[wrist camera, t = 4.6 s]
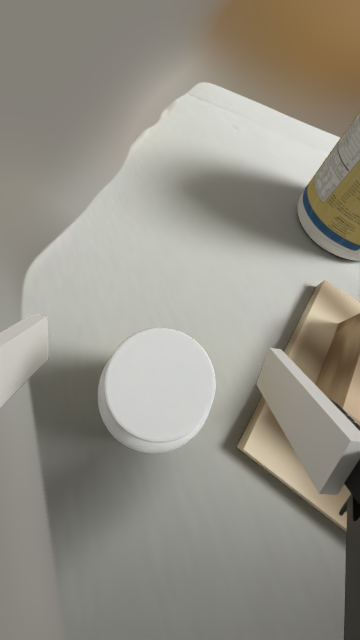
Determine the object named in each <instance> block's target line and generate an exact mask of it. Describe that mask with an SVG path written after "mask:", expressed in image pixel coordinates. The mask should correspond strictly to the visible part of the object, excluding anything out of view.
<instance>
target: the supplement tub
mask: <svg viewBox="0 0 360 640" xmlns="http://www.w3.org/2000/svg"><path fill="white" fill-rule="evenodd" d="M298 216H299V220H300V223H301V224H302V226H303V228H304V230H305V231H306V233H307V234H308V235H309V237H310V238H311V239H312V240H313V241H314V242H315V243H317V244H318V245H319V246H320V247H322V248H323V249H325V250H327V251H328V252H330V253H332V254H334V255H337V256H339V257H342V258H345V259H349V260H355V261H360V111H359V113H358V114H357V115H356V117H355V118H354V120H353V121H352V122H351V124H350V125H349V127H348V128H347V130H346V131H345V132H344V134H343V135H342V137H341V138H340V140H339V141H338V142H337V144H336V145H335V147H334V148H333V150H332V151H331V152H330V154H329V155H328V157H327V158H326V160H325V161H324V162H323V164H322V165H321V167H320V168H319V170H318V171H317V172H316V174H315V175H314V177H313V178H312V179H311V181H310V182H309V184H308V185H307V187H306V188H305V189H304V190H303V192H302V194H301V196H300V199H299V202H298Z"/></svg>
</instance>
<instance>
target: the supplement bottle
mask: <svg viewBox="0 0 360 640" xmlns="http://www.w3.org/2000/svg"><path fill="white" fill-rule="evenodd" d="M214 396H215V374H214V369H213V366H212V363H211V361H210V359H209V357H208V355H207V353H206V352H205V350H204V349H203V348H202V347H201V345H200V344H199V343H198V342H197V341H195V340H194V339H193V338H191V337H190V336H188V335H187V334H185V333H183V332H180V331H178V330H174V329H169V328H151V329H147V330H143V331H140V332H138V333H136V334H134V335H132V336H130V337H129V338H128V339H126V340H125V341H124V342H123V343H122V344H121V345H120V346H119V347H118V348H117V349H116V351H115V352H114V353H113V355H112V356H111V357H110V359H109V360H108V362H107V363H106V365H105V367H104V369H103V371H102V374H101V377H100V381H99V386H98V406H99V411H100V415H101V417H102V420H103V422H104V424H105V426H106V428H107V429H108V431H109V432H110V433H111V434H112V436H113V437H114V438H115V439H116V440H118V441H119V442H120V443H121V444H123V445H124V446H126V447H128V448H130V449H132V450H135V451H137V452H141V453H148V454H160V453H165V452H169V451H172V450H175V449H177V448H179V447H181V446H183V445H184V444H186V443H187V442H189V441H190V440H191V439H192V438H193V437H194V436H195V435H196V434H197V433H198V432H199V431H200V429H201V428H202V426H203V425H204V423H205V421H206V419H207V417H208V414H209V411H210V408H211V406H212V403H213V400H214Z"/></svg>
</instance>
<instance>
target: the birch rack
mask: <svg viewBox="0 0 360 640" xmlns="http://www.w3.org/2000/svg"><path fill="white" fill-rule="evenodd" d="M284 353H285V354H286V355H287V356H288V357H289V358H290V359H291V360H292V361H293V362H294V363H295V364H296V365H297V366H298V367H299V368H300V370H301V371H302V372H303V373H304V374H305V375H306V376H307V377H308V378H309V379H310V380H311V381H312V382H313V383H314V384H315V385H316V386H317V387H318V388H319V389H320V390H321V391H322V392H323V393H324V394H325V395H326V396H327V397H328V398H330V399H331V400H333V401H334V402H335V403H337V404H338V405H339V406H340V407H341V408H342V409H343V410H344V411H345V412H346V413H347V414H348V416H350V417H351V418H352V419H353V420H354V421H355V423H357V424H358V425H359V426H360V302H358V301H357V300H355V299H354V298H352V297H351V296H349V295H347V294H346V293H344V292H343V291H341V290H340V289H338V288H336V287H335V286H333V285H332V284H330V283H328V282H327V281H325V280H324V281H323V282H322V283H320V284H319V285H318V286H316V288H315V290H314V292H313V294H312V296H311V298H310V300H309V302H308V304H307V306H306V308H305V310H304V312H303V314H302V316H301V318H300V320H299V322H298V324H297V326H296V328H295V330H294V332H293V335H292V337H291V339H290V341H289V343H288V345H287V347H286V349H285V351H284ZM237 448H238V449H240V450H241V451H242V452H244V453H245V454H246V455H247V456H249V457H250V458H251V459H253V460H254V461H255V462H256V463H258V464H259V465H260V466H262V467H263V468H264V469H265V470H267V471H268V472H269V473H271V474H272V475H273V476H274V477H276V478H277V479H278V480H280V481H281V482H282V483H283V484H285V485H286V486H287V487H289V488H290V489H291V490H293V491H294V492H295V493H296V494H298V495H299V496H300V497H302V498H303V499H304V500H305V501H307V502H308V503H309V504H311V505H312V506H313V507H314V508H316V509H317V510H318V511H320V512H321V513H322V514H323V515H325V516H326V517H327V518H329V519H330V520H331V521H332V522H334V523H335V524H336V525H338V526H339V527H340V528H341V529H343V530H344V531H345V532H347V512H345V513H344V514H343V515H342V516H341V515H339V511H340V509H341V508H342V506H343V505H344V503H345V502H346V500H347V499H348V497H349V496H350V495H351V493H350V491H349V490H348V488H347V487H346V485H345V484H344V486H343V487H342V489H341V490H340V492H339V493H338V495H329V494H319V493H318V491H317V489H316V488H315V486H314V484H313V482H312V481H311V479H310V477H309V475H308V474H307V472H306V470H305V468H304V467H303V465H302V463H301V461H300V460H299V458H298V456H297V454H296V453H295V451H294V449H293V447H292V446H291V444H290V442H289V440H288V439H287V437H286V435H285V434H284V432H283V430H282V428H281V427H280V425H279V423H278V421H277V420H276V418H275V416H274V414H273V413H272V411H271V409H270V407H269V406H268V404H267V402H266V400H265V399H264V397H263V395H262V397H261V399H260V401H259V403H258V405H257V407H256V409H255V411H254V413H253V415H252V417H251V419H250V421H249V423H248V425H247V427H246V429H245V431H244V433H243V435H242V437H241V439H240V441H239V443H238V445H237Z"/></svg>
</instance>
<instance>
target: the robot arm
mask: <svg viewBox="0 0 360 640" xmlns="http://www.w3.org/2000/svg"><path fill="white" fill-rule="evenodd" d="M48 359H49V345H48V319H47V316H45V315H38V314H32V315H30V316H28V317H26V318H25V319H23V320H21V321H19V322H18V323H16V324H14V325H13V326H11V327H9V328H7V329H6V330H4V331H2V332H0V408H1V407H2V406H3V405H4V404H5V403H6V402H7V401H8V400H9V398H11V396H13V395H14V394H15V392H16V391H17V390H18V389H19V388H20V387H21V386H22V385H23V384H24V383H25V382H26V381H27V380H28V379H29V378H30V377H31V376H32V375H33V374H34V373H35V372H36V371H37V370H38V369H39V368H40V367H41V366H42V365H43V364H44V363H45V362H46V361H47V360H48ZM256 385H257V386H258V388H259V390H260V392H261V393H262V395H263V397H264V399H265V400H266V402H267V404H268V406H269V407H270V409H271V411H272V413H273V414H274V416H275V418H276V420H277V421H278V423H279V425H280V427H281V428H282V430H283V432H284V434H285V435H286V437H287V439H288V440H289V442H290V444H291V446H292V447H293V449H294V451H295V453H296V454H297V456H298V458H299V460H300V461H301V463H302V465H303V467H304V468H305V470H306V472H307V474H308V475H309V477H310V479H311V481H312V482H313V484H314V486H315V488H316V489H317V491H318V493H319V494H329V495H338V493H339V492H340V490H341V489H342V487H343V486H344V484H345V485H346V487H347V488H348V490H349V491H350V493H351V495H350V496H349V497H348V499H347V500H346V502H345V503H344V505H343V506H342V508H341V509H340V511H339V515H341V516H342V515H343V514H344V513H345V512H347V532H346V576H345V619H344V640H360V426H359V425H358V424H357V423H355V421H354V420H353V419H352V418H351V417H350V416H348V414H347V413H346V412H345V411H344V410H343V409H342V408H341V407H340V406H339V405H338V404H337V403H335V402H334V401H333V400H331V399H330V398H328V397H327V396H326V395H325V394H324V393H323V392H322V391H321V390H320V389H319V388H318V387H317V386H316V385H315V384H314V383H313V382H312V381H311V380H310V379H309V378H308V377H307V376H306V375H305V374H304V373H303V372H302V371H301V370H300V368H299V367H298V366H297V365H296V364H295V363H294V362H293V361H292V360H291V359H290V358H289V357H288V356H287V355H286V354H285V353H284V352H283V351H282V350H281V349H276V348H269V350H268V352H267V355H266V358H265V361H264V364H263V366H262V369H261V372H260V375H259V378H258V380H257V383H256Z"/></svg>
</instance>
